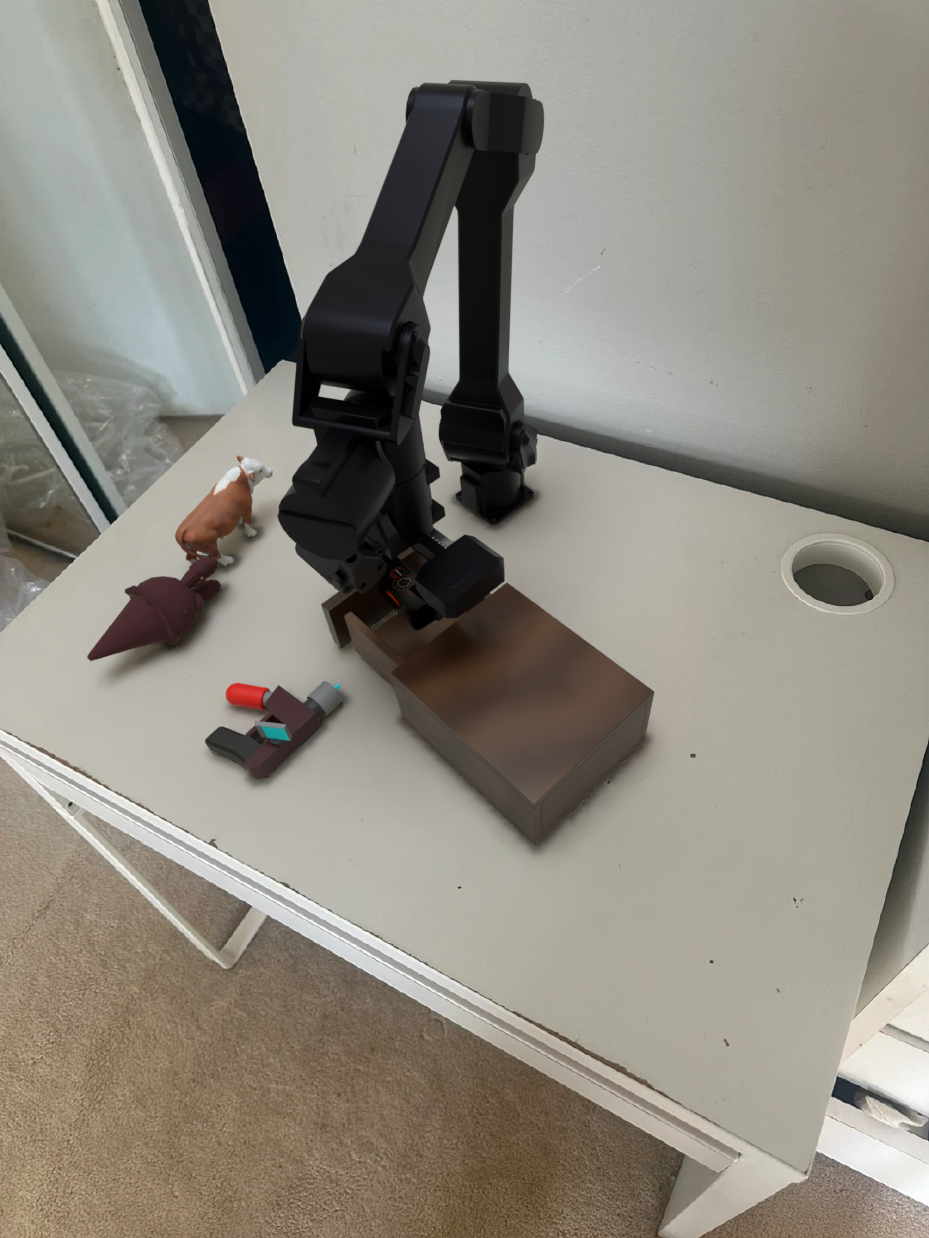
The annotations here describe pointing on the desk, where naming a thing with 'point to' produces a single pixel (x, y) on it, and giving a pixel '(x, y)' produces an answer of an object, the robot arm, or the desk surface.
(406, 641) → the drawer
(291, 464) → the desk surface
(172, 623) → the icecream
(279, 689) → the toy gun
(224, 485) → the bull figurine
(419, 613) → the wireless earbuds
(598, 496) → the desk surface
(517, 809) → the cabinet
